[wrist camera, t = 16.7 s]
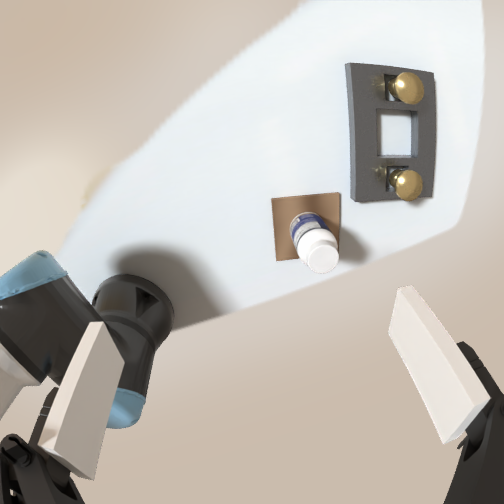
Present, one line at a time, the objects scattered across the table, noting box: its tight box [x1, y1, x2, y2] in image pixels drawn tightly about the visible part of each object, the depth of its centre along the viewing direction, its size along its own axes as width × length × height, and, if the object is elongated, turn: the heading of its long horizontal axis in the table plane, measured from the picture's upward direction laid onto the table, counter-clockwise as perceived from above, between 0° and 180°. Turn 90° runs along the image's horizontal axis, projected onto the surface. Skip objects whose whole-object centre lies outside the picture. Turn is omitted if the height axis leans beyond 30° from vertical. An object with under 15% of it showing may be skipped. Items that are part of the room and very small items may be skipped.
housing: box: [345, 63, 435, 202], centre depth 38 cm, size 14×20×2 cm
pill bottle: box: [290, 212, 339, 274], centre depth 40 cm, size 5×5×10 cm
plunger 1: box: [388, 72, 424, 104], centre depth 32 cm, size 4×4×4 cm
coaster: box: [271, 192, 339, 261], centre depth 45 cm, size 10×10×1 cm
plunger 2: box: [389, 169, 423, 201], centre depth 38 cm, size 4×4×4 cm
